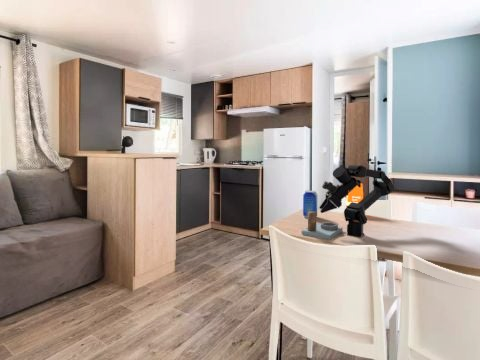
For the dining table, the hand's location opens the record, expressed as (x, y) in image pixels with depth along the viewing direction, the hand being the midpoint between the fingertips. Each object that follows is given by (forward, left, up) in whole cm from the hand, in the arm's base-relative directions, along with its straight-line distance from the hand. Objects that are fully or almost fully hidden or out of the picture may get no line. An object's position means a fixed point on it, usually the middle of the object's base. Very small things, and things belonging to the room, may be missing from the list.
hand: (320, 210), depth 145 cm
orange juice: (+2, -56, -12) cm, 57 cm away
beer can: (+21, -33, -12) cm, 40 cm away
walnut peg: (+4, +1, -10) cm, 11 cm away
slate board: (+1, -4, -12) cm, 13 cm away
